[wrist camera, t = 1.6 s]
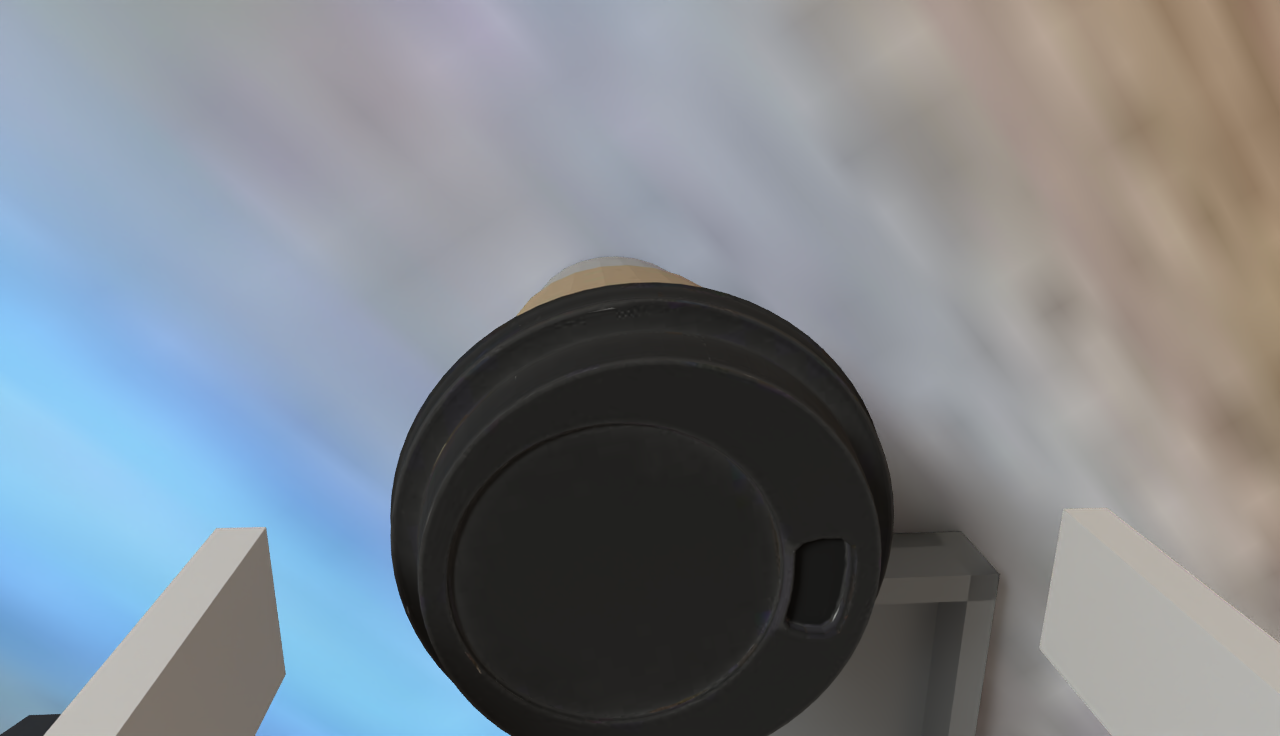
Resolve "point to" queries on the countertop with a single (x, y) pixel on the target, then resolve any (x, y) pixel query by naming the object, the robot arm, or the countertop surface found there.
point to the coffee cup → (641, 513)
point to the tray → (915, 647)
